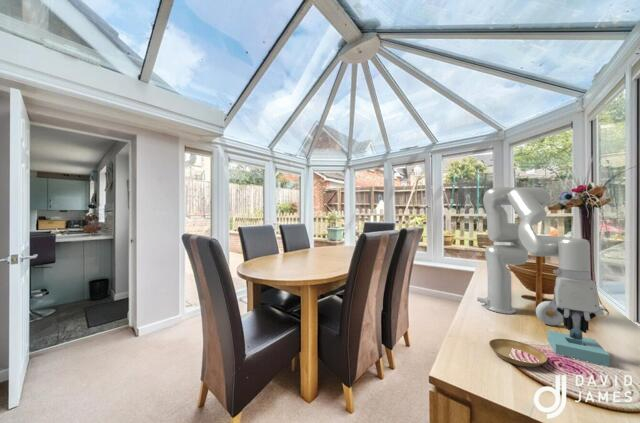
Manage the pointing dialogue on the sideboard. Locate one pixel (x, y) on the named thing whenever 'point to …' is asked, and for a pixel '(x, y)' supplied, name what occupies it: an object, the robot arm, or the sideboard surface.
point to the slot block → (578, 348)
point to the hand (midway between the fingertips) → (575, 329)
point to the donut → (544, 318)
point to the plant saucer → (505, 346)
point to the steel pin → (576, 324)
